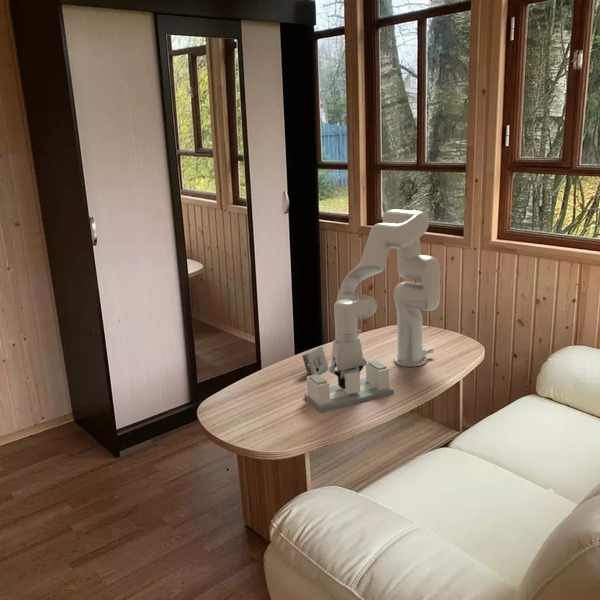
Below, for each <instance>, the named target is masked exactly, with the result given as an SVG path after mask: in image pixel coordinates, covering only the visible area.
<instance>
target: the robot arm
mask: <svg viewBox="0 0 600 600" xmlns="http://www.w3.org/2000/svg"><path fill="white" fill-rule="evenodd" d="M429 225H430V220H429V217H428V215H427V213H425V212H423V211H420V210H412V209H411V210H408V209H389V210H386V211H385V212H384V213H383V215H382V222H378V223H375V224H374V225H373V226H372V227H371V228H370V230H369V235H368V237H367V241H366V244H365V247H364V249H363V253H362V256H361V259H360V261H359V263H358V264H357V265H356V266H355V267H354V268H353V269H351V270H350V271H349V273H347V274H346V276H345V277H344V279H343V280H342V282H341V284H340V286H339V290H338V293H337V296H336V297H337V298H336V301H335V302H334V304H333V310H334V311H333V313H334V332H335V336H334V337H335V339H334V340H333V341H332V348H331V364H330V367H328V372H329V373H331V374H334V375H335V376H338V377H337V385H338V384H339V386H340V387H341V388H342V389H345V378H343V376H344V370H346V369H350V368H354V369H356V370H357V371H358V372H360V373H361V371H362V370H363V369H364V368H365V367H366V364H367V362H368V361H367V360H366V359H365V358H364V355H363V347H362V343H361V338H360V337H359V335H360V334H362V330H361V329H358V320H361V319H365V318H370V317H371V316H373V315H374V314H375V313H376V311H377V309H378V302H377V301H376V299H375V298H374V297H373V296H370V295H367V294H360V293H356V292H355V290H356V288H357V286H358V285H359V284H360V283H361V282H362V281H364V280H366V279H367V278H370V277H372V276H375V275H377V274H380V273H382V272H383V271H385V268H386V264H387V260H388V257H389V254H390V252H391V249H396V257H397V258H396V261H397V263H396V266H397V274H398V276H399V277H400V278H403V279H406V280H411V281H401V282H400V283H397V284H396V286H395V288H394V290H393V299H394V303H395V309H396V328H397V330H396V332H397V334H396V335H397V337H396V339H397V354H396V355H395V356H393V361H394V364H396V365H398V366H401V367H407V368H408V367H410V368H412V367H413V368H414V367H419V366H423V365H425V364H427V362H428V361H427V357H426V355H428V354H432V353H433V352H434V349H433V347H430V348H427V347H423V315H422V312H421V310H422V311H429V312H430V311H431V312H433V311H434V310H436V309H437V308H438V307H439V305H440V301H441V266H440V263H439V261H438V259H437V258H436V257H434V256H433V255H432V256H431V255H423V254H422V253H421V241H420V238H421V237H422V236H423V235H424V234H425V233H427V230H428V228H429ZM414 281H416V282H414ZM417 281H418V282H417ZM420 282H421V283H420ZM433 354H434V353H433ZM335 369H336V370H335Z"/></svg>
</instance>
